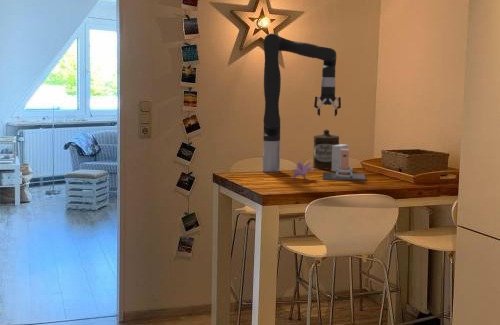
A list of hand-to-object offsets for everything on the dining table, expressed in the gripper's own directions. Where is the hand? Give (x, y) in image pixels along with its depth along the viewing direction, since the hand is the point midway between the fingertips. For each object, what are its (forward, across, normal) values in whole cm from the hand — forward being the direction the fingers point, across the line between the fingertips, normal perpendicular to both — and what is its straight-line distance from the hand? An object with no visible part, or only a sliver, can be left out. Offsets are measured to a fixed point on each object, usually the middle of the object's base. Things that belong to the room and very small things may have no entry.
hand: (327, 116), depth 334 cm
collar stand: (+31, -10, +12) cm, 35 cm away
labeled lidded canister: (+32, 0, -22) cm, 38 cm away
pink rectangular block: (+30, -10, +12) cm, 34 cm away
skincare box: (+32, -8, -9) cm, 34 cm away
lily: (+32, +11, +21) cm, 40 cm away
